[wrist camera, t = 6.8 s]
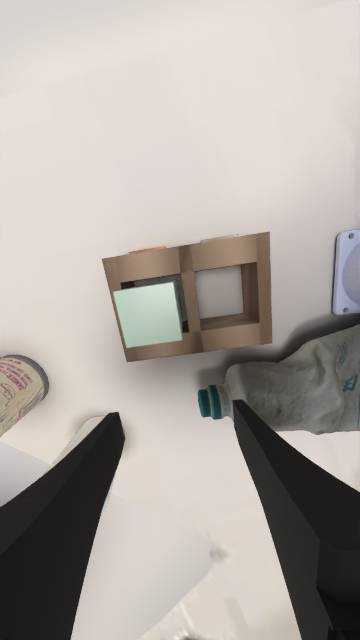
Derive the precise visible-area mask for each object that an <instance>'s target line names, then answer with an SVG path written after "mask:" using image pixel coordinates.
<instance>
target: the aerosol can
mask: <svg viewBox="0 0 360 640" xmlns="http://www.w3.org/2000/svg"><path fill="white" fill-rule="evenodd" d="M48 387H49V383H48V378H47V376H46V374H45V372H44V371H43V369H42V368H41V367H40V366H39V365H38V364H37V363H36V362H34V361H32V360H31V359H29V358H27V357H23V356H20V355H8V356H5V357H2V358H0V437H1V436H2V435H3V434H4V433H5V432H7V431H8V430H9V429H10V428H11V427H12V426H13V425H14V424H16V423H17V422H18V421H19V420H20V419H21V418H22V417H23V416H25V415H26V414H27V413H28V412H29V411H30V410H31V409H33V408H34V407H35V406H36V405H37V404H38V403H39V402H40V401H41V400H43V399H44V398H45V396H46V394H47V393H48Z"/></svg>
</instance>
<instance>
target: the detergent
mask: <svg viewBox="0 0 360 640" xmlns="http://www.w3.org/2000/svg"><path fill="white" fill-rule="evenodd" d="M238 399H243V400H244V401H245V402H246V403H247V404H248V405H249V406H250V408H251V409H252V410H253V411H254V412H255V413H256V414H257V415H258V416H259V417H260V418H261V419H262V420H263V421H264V422H265V423H266V424H267V425H268V426H269V427H270V428H271V429H272V430H274V431H295V430H305V431H309V432H311V433H313V434H315V435H320V434H323V433H333V432H342V431H345V432H349V431H360V324H358V325H356V326H354V327H350V328H348V329H345V330H341V331H338V332H335V333H332V334H329V335H326V336H323V337H319V338H316V339H313V340H310V341H308V342H306V343H305V344H303V345H302V346H301V347H300V348H299V349H298V350H297V351H296V352H295V353H293V354H292V355H291V356H289V357H288V358H286V359H284V360H282V361H280V362H279V363H275V362H259V361H256V362H245V363H239V364H234V365H232V366H230V367H229V369H228V370H227V373H226V379H225V383H224V384H223V386H218V385H209V386H208V388H207V389H203V390H199V391H198V402H199V407H200V411H201V416H202V417H212V418H213V419H223V418H224V417H225V416H229V417H230V418H232V420H233V422H234V416H233V402H232V400H238Z"/></svg>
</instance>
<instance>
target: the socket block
mask: <svg viewBox="0 0 360 640" xmlns="http://www.w3.org/2000/svg"><path fill="white" fill-rule="evenodd" d="M102 262H103V266H104V270H105V274H106V278H107V282H108V286H109V290H110V295H111V299H112V303H113V307H114V311H115V315H116V319H117V323H118V328H119V332H120V336H121V340H122V344H123V348H124V352H125V356H126V361H127V362H132V361H140V360H147V359H155V358H163V357H170V356H178V355H186V354H193V353H201V352H209V351H216V350H224V349H232V348H239V347H247V346H255V345H262V344H270V343H272V313H271V272H270V232H265V233H258V234H252V235H246V236H240V237H239V234H237V235H231V236H225V237H219V238H213V239H206V240H201V242H200V243H197V244H191V245H184V246H178V247H172V248H166V247H165V246H163V247H157V248H151V249H145V250H139V251H133V252H129V255H123V256H117V257H110V258H104V259H102ZM235 265H241V274H242V290H243V306H244V313H241V314H234V315H227V316H220V317H213V318H205V319H199V311H198V304H197V296H196V288H195V280H194V272H196V271H202V270H209V269H215V268H222V267H228V266H235ZM176 274H181V277H182V284H183V291H184V298H185V305H186V312H187V319H188V321H184V322H182V340H179V341H172V342H165V343H158V344H151V345H144V346H137V347H130V348H126V344H125V340H124V336H123V331H122V327H121V323H120V319H119V315H118V311H117V307H116V303H115V299H114V295H113V292H114V291H118V290H122V289H127V288H131V287H134V282H133V281H137V280H144V279H150V278H157V277H163V276H170V275H176Z"/></svg>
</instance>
